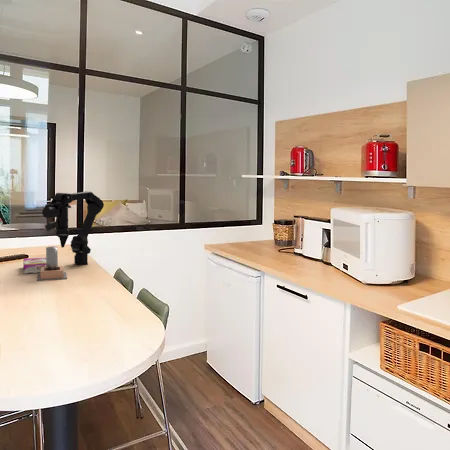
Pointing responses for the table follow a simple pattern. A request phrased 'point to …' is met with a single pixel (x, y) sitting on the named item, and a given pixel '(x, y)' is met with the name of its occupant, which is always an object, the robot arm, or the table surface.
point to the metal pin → (51, 258)
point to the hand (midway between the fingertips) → (62, 245)
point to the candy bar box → (33, 265)
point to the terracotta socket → (51, 274)
